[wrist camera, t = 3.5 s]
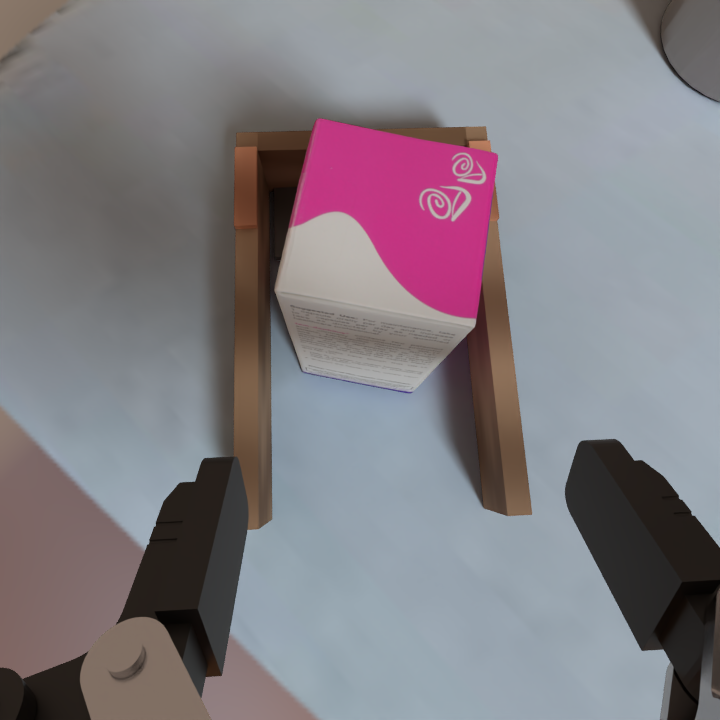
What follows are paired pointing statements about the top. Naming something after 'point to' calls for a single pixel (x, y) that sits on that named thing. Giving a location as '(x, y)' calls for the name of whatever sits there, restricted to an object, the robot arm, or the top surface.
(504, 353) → the channel
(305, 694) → the top surface
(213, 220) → the top surface
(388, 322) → the supplement box
